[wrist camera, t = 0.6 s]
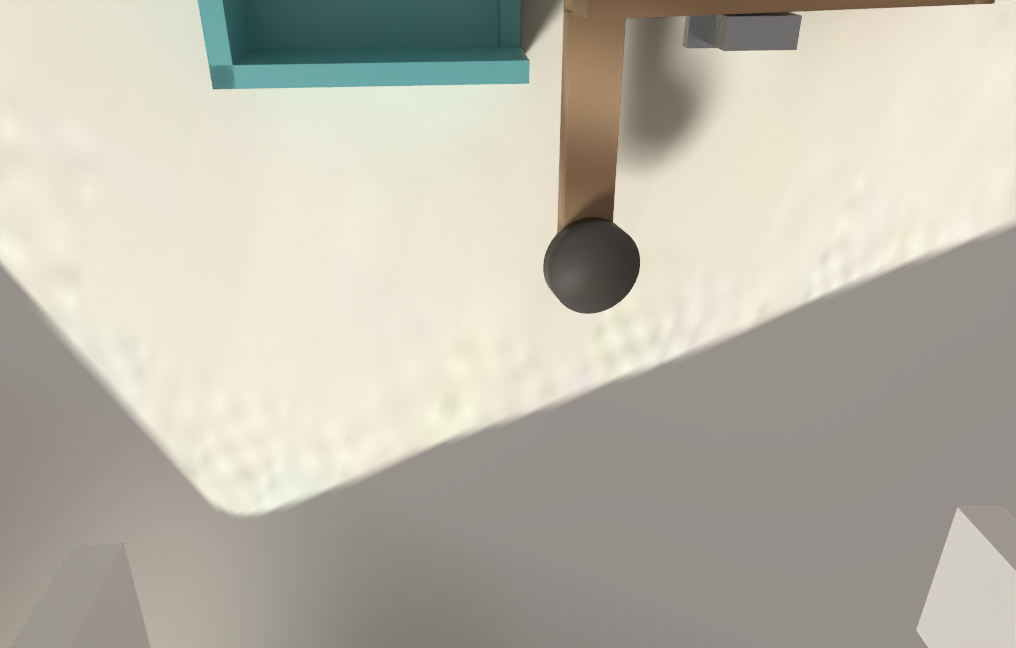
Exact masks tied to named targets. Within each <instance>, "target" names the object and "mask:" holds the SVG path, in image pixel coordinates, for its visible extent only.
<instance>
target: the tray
mask: <svg viewBox="0 0 1016 648" xmlns="http://www.w3.org/2000/svg"><path fill="white" fill-rule="evenodd" d="M198 4H199V10H200V16H201V22H202V28H203V33H204V39H205V45H206V51H207V57H208V63H209V68H210V74H211V80H212V86H213V89H250V88H304V87H358V86H413V85H467V84H522V83H529V59H528V58H527V56H526V55H525V53H524V52H523V50H522V48H521V0H198Z"/></svg>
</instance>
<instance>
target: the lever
mask: <svg viewBox="0 0 1016 648" xmlns="http://www.w3.org/2000/svg"><path fill="white" fill-rule="evenodd" d="M994 2H995V0H564V25H563V59H562V93H561V127H560V161H559V195H558V229H557V235H556V236H555V237H554V238H553V240H552V241H551V243H550V245H549V247H548V249H547V251H546V254H545V258H544V265H543V269H544V277H545V280H546V283H547V284H548V286H549V288H550V289H551V291H552V292H553V293H554V294H555V295H556V297H557V298H558V299H559V300H560V302H561V303H562V304H563V305H565V306H566V307H567V308H569V309H571V310H573V311H576V312H579V313H587V314H590V313H597V312H601V311H604V310H607V309H609V308H611V307H613V306H614V305H616V304H617V303H619V302H620V301H621V300H622V299H623V298H624V297H625V296H626V295H627V294H628V293H629V292H630V290H631V289H632V287H633V285H634V284H635V282H636V279H637V277H638V273H639V268H640V256H639V251H638V248H637V246H636V244H635V242H634V241H633V239H632V238H631V237H630V236H629V235H628V234H627V233H625V232H624V231H623V230H622V229H621V228H619V227H618V226H617V225H616V224H615V223H613V210H614V194H615V178H616V163H617V147H618V131H619V116H620V100H621V84H622V69H623V53H624V37H625V21H626V18H646V17H670V16H695V15H720V14H745V13H769V12H794V11H819V10H844V9H868V8H893V7H918V6H943V5H967V4H992V3H994Z"/></svg>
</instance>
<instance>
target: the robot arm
mask: <svg viewBox="0 0 1016 648" xmlns="http://www.w3.org/2000/svg"><path fill="white" fill-rule="evenodd" d="M917 632H918V633H919V635H920V636H921V638H922V639H923V640H924V642H925V643H926V645H927V646H928V648H1016V519H1015V518H1014V517H1013V516H1012V515H1011V514H1010V513H1009V512H1008V511H1007V510H1006V509H1005V508H1004V507H1003V506H1002V505H1001V506H1000V505H999V506H976V507H958V508H957V511H956V514H955V517H954V520H953V523H952V526H951V529H950V531H949V534H948V538H947V540H946V544H945V546H944V549H943V552H942V555H941V558H940V562H939V564H938V567H937V570H936V573H935V576H934V579H933V582H932V585H931V588H930V591H929V594H928V597H927V600H926V603H925V606H924V609H923V612H922V615H921V618H920V621H919V624H918V627H917ZM10 648H150V644H149V640H148V636H147V632H146V628H145V624H144V620H143V617H142V613H141V609H140V605H139V601H138V597H137V593H136V589H135V585H134V581H133V577H132V573H131V570H130V566H129V562H128V558H127V554H126V550H125V546H124V543H120V544H97V545H73V546H70V547H69V549H68V551H67V552H66V554H65V556H64V558H63V559H62V561H61V562H60V564H59V566H58V567H57V569H56V571H55V573H54V574H53V576H52V578H51V579H50V581H49V583H48V584H47V586H46V588H45V589H44V591H43V593H42V594H41V596H40V598H39V599H38V601H37V603H36V604H35V606H34V608H33V609H32V611H31V613H30V615H29V616H28V618H27V620H26V621H25V623H24V625H23V626H22V628H21V630H20V631H19V633H18V635H17V636H16V638H15V639H14V641H13V643H12V645H11V646H10Z"/></svg>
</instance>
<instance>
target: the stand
mask: <svg viewBox="0 0 1016 648" xmlns="http://www.w3.org/2000/svg"><path fill="white" fill-rule="evenodd" d="M801 18H802V16H801V15H798V14H794V13H791V12H769V13H745V14H720V15H695V16H686V22H685V32H684V43H683V47H685V48H719V49H721V50H723V51H747V50H796V49H797V43H798V36H799V30H800V24H801Z"/></svg>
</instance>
